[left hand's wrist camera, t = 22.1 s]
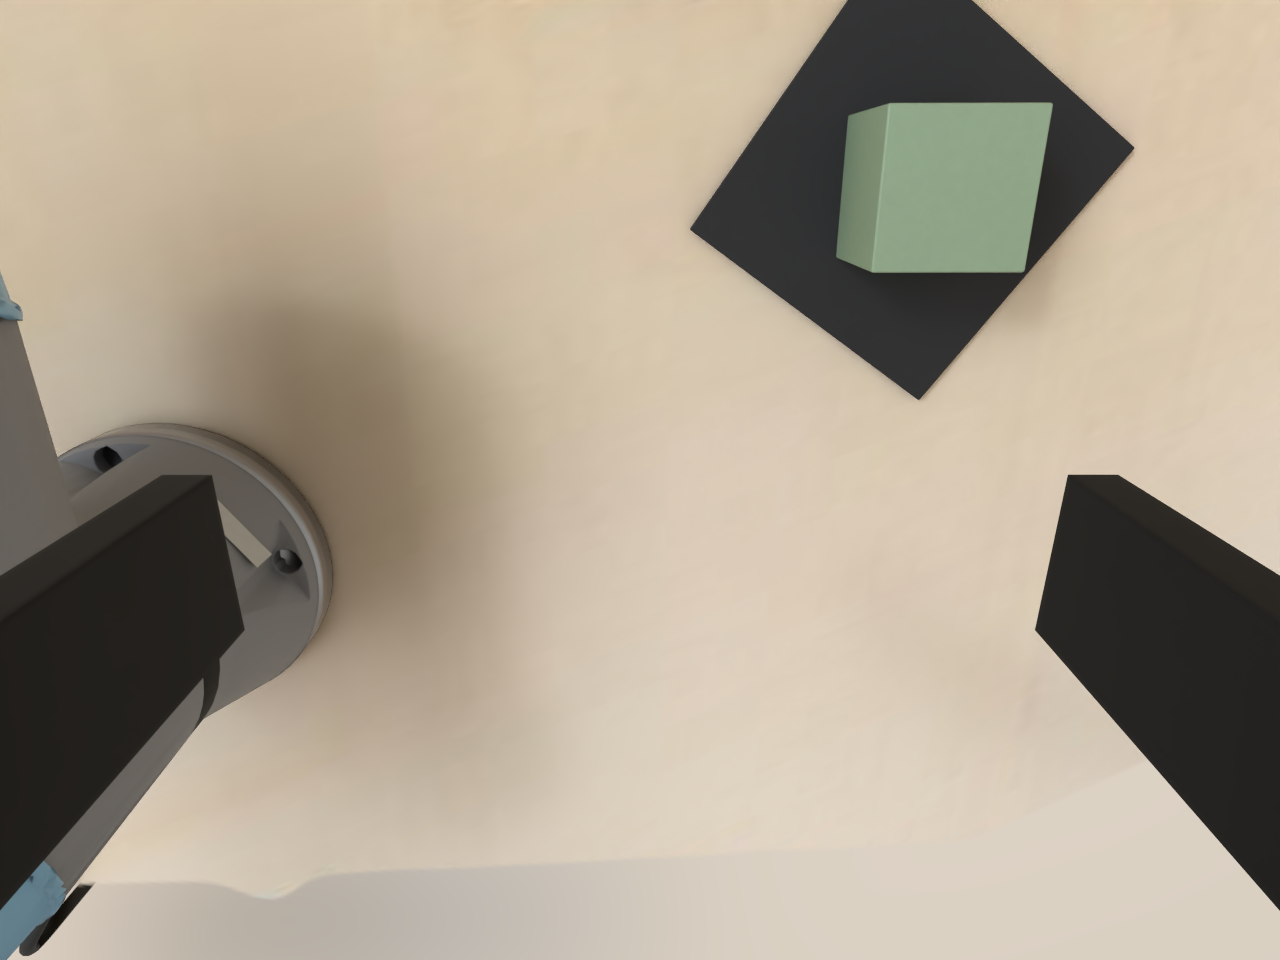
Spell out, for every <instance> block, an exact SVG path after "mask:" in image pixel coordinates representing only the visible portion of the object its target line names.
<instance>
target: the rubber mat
mask: <svg viewBox="0 0 1280 960" xmlns="http://www.w3.org/2000/svg"><path fill="white" fill-rule="evenodd" d="M889 103H1052V104H1053V107H1052V113H1051V119H1050V125H1049V131H1048V137H1047V142H1046V148H1045V154H1044V160H1043V166H1042V172H1041V177H1040V183H1039V189H1038V195H1037V201H1036V207H1035V212H1034V218H1033V224H1032V230H1031V236H1030V242H1029V247H1028V253H1027V259H1026V265H1025V270H1024V272H978V273H873V272H870V271H868V270H865V269H863V268H860V267H858V266H856V265H853V264H851V263H848V262H846V261H843V260H841V259H839V258H837V257H836V252H837V240H838V228H839V217H840V205H841V194H842V182H843V170H844V159H845V147H846V135H847V124H848V116H849V115H851V114H855V113H858V112H862V111H865V110H868V109H872V108H875V107H878V106H882V105H885V104H889ZM1133 149H1134V147H1133V146H1132V145H1131V144H1130V143H1129V142H1128V141H1127V140H1126V139H1124V138H1123V137H1122V136H1121V135H1120V134H1119V133H1118V132H1117V131H1116V130H1114V129H1113V128H1112V127H1111V126H1110V125H1109V124H1108V123H1107V122H1106V121H1105V120H1103V119H1102V118H1101V117H1100V116H1099V115H1098V114H1097V113H1096V112H1095V111H1093V110H1092V109H1091V108H1090V107H1089V106H1088V105H1087V104H1086V103H1085V102H1084V101H1082V100H1081V99H1080V98H1079V97H1078V96H1077V95H1076V94H1075V93H1074V92H1073V91H1071V90H1070V89H1069V88H1068V87H1067V86H1066V85H1065V84H1064V83H1063V82H1061V81H1060V80H1059V79H1058V78H1057V77H1056V76H1055V75H1054V74H1053V73H1052V72H1050V71H1049V70H1048V69H1047V68H1046V67H1045V66H1044V65H1043V64H1042V63H1041V62H1039V61H1038V60H1037V59H1036V58H1035V57H1034V56H1033V55H1032V54H1031V53H1029V52H1028V51H1027V50H1026V49H1025V48H1024V47H1023V46H1022V45H1021V44H1020V43H1018V42H1017V41H1016V40H1015V39H1014V38H1013V37H1012V36H1011V35H1010V34H1009V33H1007V32H1006V31H1005V30H1004V29H1003V28H1002V27H1001V26H1000V25H999V24H997V23H996V22H995V21H994V20H993V19H992V18H991V17H990V16H989V15H988V14H986V13H985V12H984V11H983V10H982V9H981V8H980V7H979V6H978V5H976V4H975V3H974V2H973V1H972V0H848V1H847V2H846V4H845V5H844V7H843V8H842V9H841V11H840V12H839V14H838V15H837V17H836V18H835V20H834V21H833V22H832V24H831V25H830V27H829V28H828V30H827V31H826V33H825V34H824V36H823V37H822V38H821V40H820V41H819V43H818V44H817V46H816V47H815V49H814V50H813V51H812V53H811V54H810V56H809V57H808V59H807V60H806V62H805V63H804V65H803V66H802V67H801V69H800V70H799V72H798V73H797V75H796V76H795V78H794V79H793V80H792V82H791V83H790V85H789V86H788V88H787V89H786V91H785V92H784V93H783V95H782V96H781V98H780V99H779V101H778V102H777V104H776V105H775V107H774V108H773V109H772V111H771V112H770V114H769V115H768V117H767V118H766V120H765V121H764V122H763V124H762V125H761V127H760V128H759V130H758V131H757V133H756V134H755V136H754V137H753V138H752V140H751V141H750V143H749V144H748V146H747V147H746V149H745V150H744V151H743V153H742V154H741V156H740V157H739V159H738V160H737V162H736V163H735V165H734V166H733V167H732V169H731V170H730V172H729V173H728V175H727V176H726V178H725V179H724V180H723V182H722V183H721V185H720V186H719V188H718V189H717V191H716V192H715V194H714V195H713V196H712V198H711V199H710V201H709V202H708V204H707V205H706V207H705V208H704V209H703V211H702V212H701V214H700V215H699V217H698V218H697V220H696V221H695V223H694V224H693V225H692V227H691V228H690V229H691V231H693V232H694V233H695V234H697V235H698V236H699V237H701V238H702V239H703V240H705V241H706V242H707V243H709V244H710V245H711V246H713V247H714V248H716V249H717V250H718V251H720V252H721V253H722V254H724V255H725V256H726V257H728V258H729V259H730V260H732V261H733V262H734V263H736V264H737V265H738V266H740V267H741V268H742V269H744V270H745V271H746V272H748V273H749V274H750V275H752V276H753V277H754V278H756V279H757V280H758V281H760V282H761V283H762V284H764V285H765V286H766V287H768V288H769V289H770V290H772V291H773V292H774V293H776V294H777V295H779V296H780V297H781V298H783V299H784V300H785V301H787V302H788V303H789V304H791V305H792V306H793V307H795V308H796V309H797V310H799V311H800V312H801V313H803V314H804V315H805V316H807V317H808V318H809V319H811V320H812V321H813V322H815V323H816V324H817V325H819V326H820V327H821V328H823V329H824V330H825V331H827V332H828V333H829V334H831V335H832V336H833V337H835V338H836V339H837V340H839V341H840V342H841V343H843V344H844V345H846V346H847V347H848V348H850V349H851V350H852V351H854V352H855V353H856V354H858V355H859V356H860V357H862V358H863V359H864V360H866V361H867V362H868V363H870V364H871V365H872V366H874V367H875V368H876V369H878V370H879V371H880V372H882V373H883V374H884V375H886V376H887V377H888V378H890V379H891V380H892V381H894V382H895V383H896V384H898V385H899V386H900V387H902V388H903V389H904V390H906V391H907V392H909V393H910V394H911V395H913V396H914V397H915V398H917V399H918V400H919V399H920V398H921V397H922V396H923V395H924V394H925V392H926V391H927V390H928V389H929V388H930V386H931V385H932V384H933V383H934V382H935V381H936V379H937V378H938V377H939V376H940V375H941V374H942V372H943V371H944V370H945V369H946V368H947V367H948V365H949V364H950V363H951V362H952V361H953V360H954V358H955V357H956V356H957V355H958V354H959V353H960V351H961V350H962V349H963V348H964V347H965V346H966V344H967V343H968V342H969V341H970V340H971V339H972V337H973V336H974V335H975V334H976V333H977V332H978V330H979V329H980V328H981V327H982V326H983V325H984V323H985V322H986V321H987V320H988V319H989V318H990V316H991V315H992V314H993V313H994V312H995V311H996V309H997V308H998V307H999V306H1000V305H1001V304H1002V302H1003V301H1004V300H1005V299H1006V298H1007V297H1008V295H1009V294H1010V293H1011V292H1012V291H1013V290H1014V288H1015V287H1016V286H1017V285H1018V284H1019V282H1020V281H1021V280H1022V279H1023V278H1024V277H1025V275H1026V274H1027V273H1028V272H1029V271H1030V270H1031V268H1032V267H1033V266H1034V265H1035V264H1036V263H1037V261H1038V260H1039V259H1040V258H1041V257H1042V256H1043V254H1044V253H1045V252H1046V251H1047V250H1048V249H1049V247H1050V246H1051V245H1052V244H1053V243H1054V242H1055V240H1056V239H1057V238H1058V237H1059V236H1060V235H1061V233H1062V232H1063V231H1064V230H1065V229H1066V228H1067V226H1068V225H1069V224H1070V223H1071V222H1072V221H1073V219H1074V218H1075V217H1076V216H1077V215H1078V214H1079V212H1080V211H1081V210H1082V209H1083V208H1084V207H1085V205H1086V204H1087V203H1088V202H1089V201H1090V200H1091V198H1092V197H1093V196H1094V195H1095V194H1096V193H1097V191H1098V190H1099V189H1100V188H1101V187H1102V186H1103V184H1104V183H1105V182H1106V181H1107V180H1108V178H1109V177H1110V176H1111V175H1112V174H1113V173H1114V171H1115V170H1116V169H1117V168H1118V167H1119V166H1120V164H1121V163H1122V162H1123V161H1124V160H1125V159H1126V157H1127V156H1128V155H1129V154H1130V153H1131V152H1132V150H1133Z"/></svg>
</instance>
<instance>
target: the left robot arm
mask: <svg viewBox="0 0 1280 960" xmlns="http://www.w3.org/2000/svg"><path fill="white" fill-rule="evenodd" d="M17 320H18V321H23V316H22V310H21V307H20V306H19V305H18V304H16V303H14V302H13V301H12V300H10V297H9V294H8V291H7V289H6V286H5V283H4V280H3V278H2V275H1V272H0V960H7V959H8V958H9V957H10V955H11V954H12V953H13V952H14V951H15V950H16V949H17V948H18V946H19V945H20V948H19V952H20V954H21V955H23V956H29V955H31V954H33V953H35V952H36V951H38V950H39V949H40V948H41V947H42V946H43V945H44V944H45V943H46V942H47V941H48V940H49V938H50V937H51V936H52V935H53V934H54V933H55V931H56V930H57V929H58V928H59V927H60V925H61V924H62V923H63V922H64V921H65V919H66V918H67V917H68V916H69V914H70V913H71V912H72V911H73V909H74V908H75V907H76V906H77V905H78V903H79V902H80V901H81V900H82V899H83V897H84V896H85V895H86V894H87V893H88V891H89V890H90V889H91V888H92V886H93V885H94V884H79V885H78V886H77V887H76V888H75V889H74V890H73V892H72V893H71V894H70V895H69V896H68V897H67V899H66V900H65V897H66V895H67V894H68V892H69V891H70V890H71V888H72V887H73V886H74V885H75V883H76V882H77V881H78V879H79V878H80V877H81V876H82V874H83V873H84V872H85V870H86V869H87V868H88V867H89V865H90V864H91V863H92V861H93V860H94V859H95V858H96V856H97V855H98V854H99V852H100V851H101V850H102V849H103V847H104V846H105V845H106V843H107V842H108V841H109V840H110V838H111V837H112V836H113V834H114V833H115V832H116V830H117V829H118V828H119V827H120V825H121V824H122V823H123V821H124V820H125V819H126V818H127V816H128V815H129V814H130V812H131V811H132V810H133V809H134V807H135V806H136V805H137V803H138V802H139V801H140V800H141V798H142V797H143V796H144V794H145V793H146V792H147V791H148V789H149V788H150V787H151V785H152V784H153V783H154V782H155V780H156V779H157V778H158V776H159V775H160V774H161V773H162V771H163V770H164V769H165V767H166V766H167V765H168V763H169V762H170V761H171V760H172V758H173V757H174V756H175V754H176V753H177V752H178V751H179V749H180V748H181V747H182V745H183V744H184V743H185V742H186V740H187V739H188V737H189V736H190V735H191V734H192V732H193V731H194V730H195V729H196V727H197V726H198V725H199V724H200V722H201V721H202V720H203V719H204V718H206V717H207V716H209V715H211V714H213V713H214V712H216V711H218V710H220V709H221V708H223V707H225V706H227V705H228V704H230V703H232V702H233V701H235V700H237V699H239V698H240V697H242V696H244V695H246V694H247V693H249V692H251V691H253V690H254V689H256V688H258V687H260V686H261V685H263V684H265V683H267V682H268V681H270V680H272V679H273V678H275V677H276V676H278V675H279V674H281V673H282V672H283V671H284V670H286V669H287V668H288V667H289V666H290V665H291V664H292V663H293V662H294V661H295V660H296V659H297V658H298V657H299V655H300V654H301V653H302V651H303V650H304V648H305V647H306V646H307V644H308V643H309V641H310V640H311V639H312V637H313V636H314V634H315V633H316V632H317V630H318V628H319V627H320V625H321V623H322V621H323V619H324V617H325V614H326V612H327V609H328V606H329V602H330V598H331V591H332V577H333V574H332V562H331V557H330V551H329V548H328V544H327V541H326V538H325V535H324V533H323V530H322V528H321V525H320V523H319V521H318V520H317V518H316V516H315V514H314V512H313V510H312V509H311V507H310V506H309V504H308V503H307V501H306V500H305V499H304V497H303V496H302V495H301V493H300V492H299V491H298V490H297V488H296V487H295V486H294V485H293V484H292V483H291V482H290V481H289V480H288V479H287V478H286V477H285V476H284V475H283V474H282V473H281V472H280V471H279V470H277V469H276V468H275V467H274V466H273V465H271V464H270V463H269V462H267V461H266V460H265V459H263V458H262V457H261V456H259V455H257V454H256V453H254V452H253V451H251V450H250V449H248V448H246V447H244V446H242V445H240V444H239V443H237V442H235V441H232V440H230V439H228V438H225V437H223V436H221V435H218V434H215V433H212V432H209V431H206V430H202V429H198V428H194V427H189V426H183V425H177V424H163V423H153V424H139V425H131V426H127V427H122V428H118V429H115V430H112V431H109V432H106V433H104V434H102V435H100V436H97V437H95V438H93V439H91V440H89V441H87V442H85V443H83V444H81V445H79V446H77V447H75V448H72V449H70V450H68V451H67V452H65V453H64V454H62V455H61V456H59V457H57V455H56V452H55V448H54V445H53V442H52V438H51V435H50V431H49V428H48V425H47V421H46V418H45V415H44V411H43V408H42V405H41V401H40V398H39V394H38V391H37V388H36V384H35V381H34V378H33V374H32V371H31V367H30V364H29V361H28V357H27V354H26V351H25V347H24V344H23V340H22V337H21V334H20V330H19V326H18V323H17ZM1035 630H1036V632H1037V633H1038V634H1039V635H1040V636H1041V637H1042V638H1043V640H1044V641H1045V642H1046V643H1047V644H1048V645H1049V646H1050V648H1051V649H1052V650H1053V651H1054V652H1055V653H1056V654H1057V656H1058V657H1059V658H1060V659H1061V660H1062V661H1063V663H1064V664H1065V665H1066V666H1067V667H1068V668H1069V669H1070V671H1071V672H1072V673H1073V674H1074V675H1075V676H1076V677H1077V679H1078V680H1079V681H1080V682H1081V683H1082V684H1083V685H1084V687H1085V688H1086V689H1087V690H1088V691H1089V692H1090V693H1091V695H1092V696H1093V697H1094V698H1095V699H1096V700H1097V702H1098V703H1099V704H1100V705H1101V706H1102V707H1103V708H1104V710H1105V711H1106V712H1107V713H1108V714H1109V715H1110V716H1111V718H1112V719H1113V720H1114V721H1115V722H1116V723H1117V724H1118V726H1119V727H1120V728H1121V729H1122V730H1123V731H1124V732H1125V734H1126V735H1127V736H1128V737H1129V738H1130V739H1131V740H1132V742H1133V743H1134V744H1135V745H1136V746H1137V747H1138V749H1139V750H1140V751H1141V752H1142V753H1143V754H1144V755H1145V757H1146V758H1147V759H1148V760H1149V761H1150V762H1151V763H1152V765H1153V766H1154V767H1155V768H1156V769H1157V770H1158V771H1159V772H1160V774H1161V775H1162V776H1163V777H1164V778H1165V779H1166V781H1167V782H1168V783H1169V784H1170V785H1171V786H1172V788H1173V789H1174V790H1175V791H1176V792H1177V793H1178V794H1179V796H1180V797H1181V798H1182V799H1183V800H1184V801H1185V802H1186V804H1187V805H1188V806H1189V807H1190V808H1191V809H1192V810H1193V812H1194V813H1195V814H1196V815H1197V816H1198V817H1199V818H1200V820H1201V821H1202V822H1203V823H1204V824H1205V825H1206V826H1207V828H1208V829H1209V830H1210V831H1211V832H1212V833H1213V834H1214V836H1215V837H1216V838H1217V839H1218V840H1219V841H1220V843H1221V844H1222V845H1223V846H1224V847H1225V848H1226V849H1227V851H1228V852H1229V853H1230V854H1231V855H1232V856H1233V857H1234V859H1235V860H1236V861H1237V862H1238V863H1239V864H1240V865H1241V867H1242V868H1243V869H1244V870H1245V871H1246V872H1247V874H1248V875H1249V876H1250V877H1251V878H1252V879H1253V880H1254V882H1255V883H1256V884H1257V885H1258V886H1259V887H1260V888H1261V890H1262V891H1263V892H1264V893H1265V894H1266V895H1267V896H1268V898H1269V899H1270V900H1271V901H1272V902H1273V903H1274V904H1275V906H1276V907H1277V908H1278V909H1279V910H1280V575H1278V574H1276V573H1275V572H1273V571H1271V570H1270V569H1268V568H1267V567H1265V566H1263V565H1262V564H1260V563H1259V562H1257V561H1255V560H1254V559H1252V558H1251V557H1249V556H1247V555H1246V554H1244V553H1243V552H1241V551H1239V550H1238V549H1236V548H1235V547H1233V546H1231V545H1230V544H1228V543H1227V542H1225V541H1223V540H1222V539H1220V538H1219V537H1217V536H1215V535H1214V534H1212V533H1211V532H1209V531H1207V530H1206V529H1204V528H1203V527H1201V526H1199V525H1198V524H1196V523H1194V522H1193V521H1191V520H1190V519H1188V518H1186V517H1185V516H1183V515H1182V514H1180V513H1178V512H1177V511H1175V510H1174V509H1172V508H1170V507H1169V506H1167V505H1166V504H1164V503H1162V502H1161V501H1159V500H1158V499H1156V498H1154V497H1153V496H1151V495H1150V494H1148V493H1146V492H1145V491H1143V490H1142V489H1140V488H1138V487H1137V486H1135V485H1134V484H1132V483H1130V482H1129V481H1127V480H1125V479H1124V478H1122V477H1121V476H1119V475H1068V477H1067V482H1066V487H1065V492H1064V496H1063V501H1062V506H1061V510H1060V515H1059V520H1058V525H1057V529H1056V534H1055V539H1054V543H1053V548H1052V553H1051V558H1050V562H1049V567H1048V572H1047V576H1046V581H1045V586H1044V591H1043V595H1042V600H1041V605H1040V609H1039V614H1038V619H1037V624H1036V628H1035ZM64 900H65V901H64ZM63 901H64V902H63ZM61 904H62V905H61Z"/></svg>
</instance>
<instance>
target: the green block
mask: <svg viewBox="0 0 1280 960" xmlns="http://www.w3.org/2000/svg"><path fill="white" fill-rule="evenodd" d="M1052 107H1053V104H1052V103H889V104H885V105H882V106H878V107H875V108H872V109H868V110H865V111H862V112H858V113H855V114H851V115H849V116H848V124H847V135H846V147H845V159H844V170H843V182H842V194H841V205H840V217H839V228H838V240H837V252H836V257H837V258H839V259H841V260H843V261H846V262H848V263H851V264H853V265H856V266H858V267H860V268H863V269H865V270H868V271H870V272H873V273H978V272H1024V270H1025V265H1026V259H1027V253H1028V247H1029V242H1030V236H1031V230H1032V224H1033V218H1034V212H1035V207H1036V201H1037V195H1038V189H1039V183H1040V177H1041V172H1042V166H1043V160H1044V154H1045V148H1046V142H1047V137H1048V131H1049V125H1050V119H1051V113H1052Z"/></svg>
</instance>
